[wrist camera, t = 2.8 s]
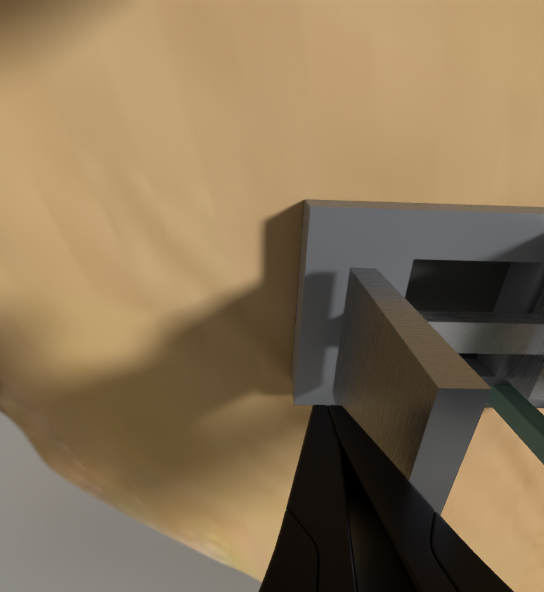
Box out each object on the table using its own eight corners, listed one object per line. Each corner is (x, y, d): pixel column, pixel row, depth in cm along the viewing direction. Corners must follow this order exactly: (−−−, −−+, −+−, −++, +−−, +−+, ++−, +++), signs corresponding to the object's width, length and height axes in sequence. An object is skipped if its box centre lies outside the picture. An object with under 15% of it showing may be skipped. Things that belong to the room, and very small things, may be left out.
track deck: (795, 215, 15) (869, 224, 13) (675, 385, 19) (719, 410, 17) (304, 199, 14) (310, 206, 12) (291, 379, 18) (294, 404, 16)
